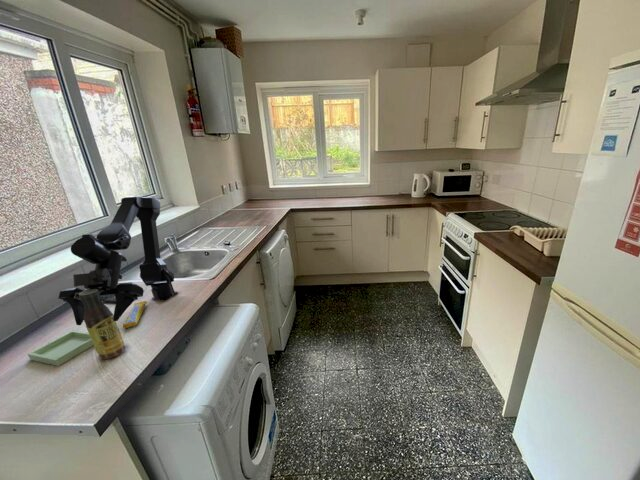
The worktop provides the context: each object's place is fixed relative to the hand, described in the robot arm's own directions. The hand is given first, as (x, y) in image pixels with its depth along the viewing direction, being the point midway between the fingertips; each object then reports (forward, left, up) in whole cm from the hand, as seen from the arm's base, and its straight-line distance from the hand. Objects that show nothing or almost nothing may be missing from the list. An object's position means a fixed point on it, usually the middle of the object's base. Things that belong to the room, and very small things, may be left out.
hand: (97, 323), depth 78 cm
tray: (+1, -16, -11) cm, 20 cm away
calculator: (-28, -33, -11) cm, 45 cm away
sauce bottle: (-1, 0, -11) cm, 11 cm away
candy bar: (-18, -12, -11) cm, 24 cm away
